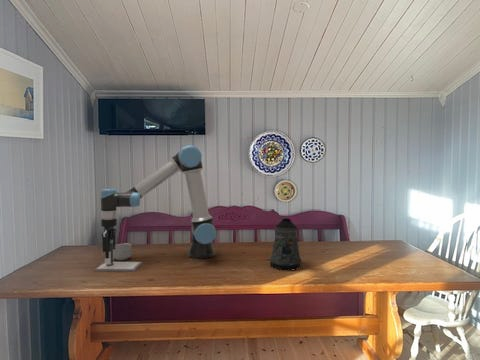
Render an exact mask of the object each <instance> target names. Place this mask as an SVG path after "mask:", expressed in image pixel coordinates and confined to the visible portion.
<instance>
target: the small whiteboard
mask: <svg viewBox="0 0 480 360" xmlns="http://www.w3.org/2000/svg"><path fill="white" fill-rule="evenodd" d="M142 264H143V261H114V265H111V266H107V265H106V264H105V261H104V262H103V263H101V264H100V265H99V266H97V267H96V268H94V271H95V272H135V271H136V270H137V269H138V268H139V267H140V266H141V265H142Z"/></svg>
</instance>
